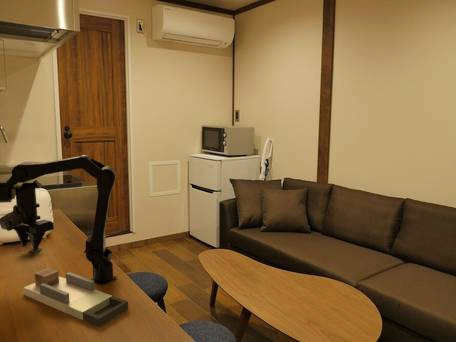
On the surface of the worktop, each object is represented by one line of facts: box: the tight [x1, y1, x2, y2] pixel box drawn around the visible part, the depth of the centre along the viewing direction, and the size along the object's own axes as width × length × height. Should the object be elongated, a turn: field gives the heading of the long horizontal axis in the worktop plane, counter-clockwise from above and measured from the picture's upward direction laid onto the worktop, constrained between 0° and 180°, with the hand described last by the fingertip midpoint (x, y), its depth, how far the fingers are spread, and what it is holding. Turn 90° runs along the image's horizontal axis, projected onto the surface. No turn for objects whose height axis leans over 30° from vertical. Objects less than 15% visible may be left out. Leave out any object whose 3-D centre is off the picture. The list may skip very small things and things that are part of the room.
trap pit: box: [82, 295, 129, 328], centre depth 112 cm, size 6×11×2 cm, turn 150°
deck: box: [23, 275, 112, 321], centre depth 120 cm, size 28×11×2 cm, turn 60°
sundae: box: [28, 220, 43, 253], centre depth 158 cm, size 7×7×15 cm
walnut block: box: [34, 267, 60, 287], centre depth 125 cm, size 5×5×4 cm
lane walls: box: [40, 271, 96, 304], centre depth 120 cm, size 12×10×3 cm
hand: (30, 247), depth 127 cm, fingers open, 6 cm apart
